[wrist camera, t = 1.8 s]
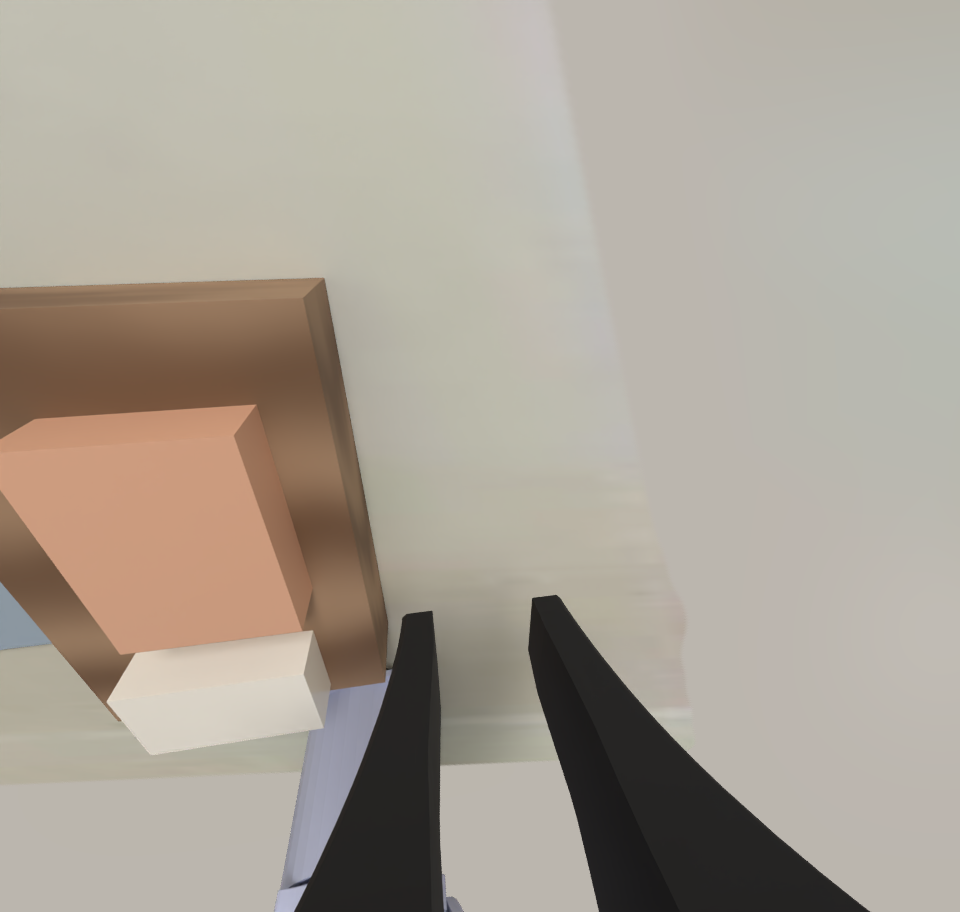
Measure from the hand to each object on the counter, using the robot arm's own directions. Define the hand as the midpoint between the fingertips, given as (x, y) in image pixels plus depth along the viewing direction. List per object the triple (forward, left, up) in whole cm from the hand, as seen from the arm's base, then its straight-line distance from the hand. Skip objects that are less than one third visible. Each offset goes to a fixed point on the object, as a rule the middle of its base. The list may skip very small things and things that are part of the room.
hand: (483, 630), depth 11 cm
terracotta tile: (0, +9, -6) cm, 11 cm away
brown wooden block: (-2, +10, -9) cm, 14 cm away
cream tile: (-8, +10, -6) cm, 14 cm away
